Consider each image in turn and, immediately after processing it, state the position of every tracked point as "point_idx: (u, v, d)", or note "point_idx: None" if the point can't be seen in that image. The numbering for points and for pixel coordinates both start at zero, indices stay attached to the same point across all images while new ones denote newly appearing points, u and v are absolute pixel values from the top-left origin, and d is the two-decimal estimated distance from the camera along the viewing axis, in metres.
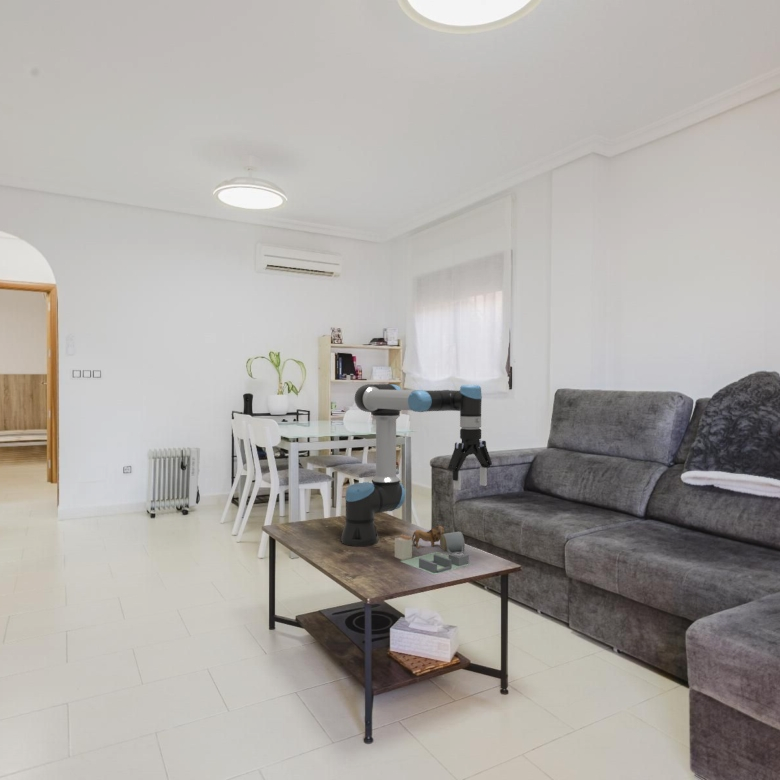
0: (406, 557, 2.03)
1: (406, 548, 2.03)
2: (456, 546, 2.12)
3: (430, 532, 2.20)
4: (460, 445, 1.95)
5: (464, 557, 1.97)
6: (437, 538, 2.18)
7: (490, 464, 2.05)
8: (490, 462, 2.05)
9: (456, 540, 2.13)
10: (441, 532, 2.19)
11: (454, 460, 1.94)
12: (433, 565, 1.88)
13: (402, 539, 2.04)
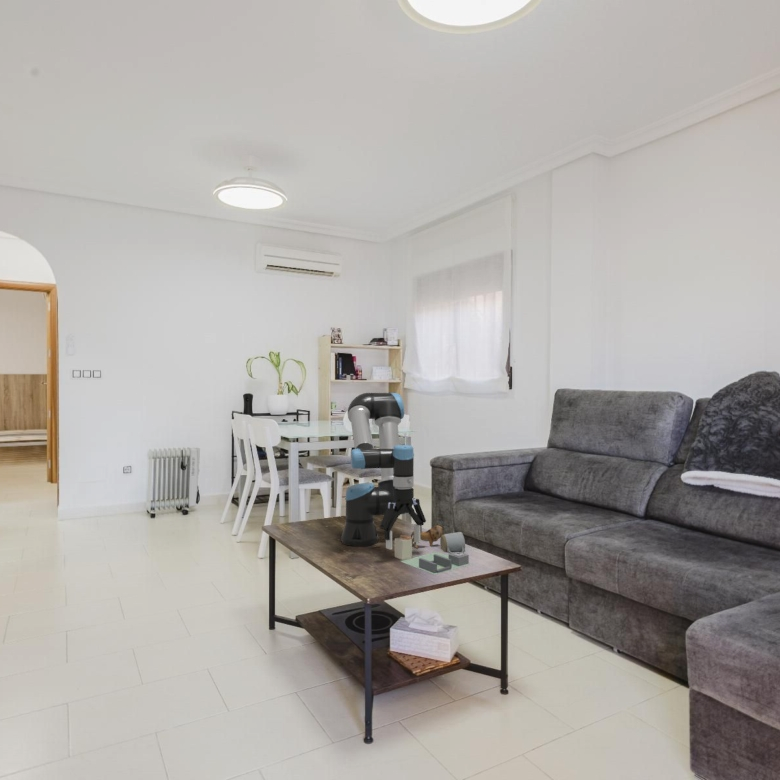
0: (406, 557, 2.03)
1: (406, 548, 2.03)
2: (457, 546, 2.12)
3: (428, 532, 2.20)
4: (391, 505, 2.00)
5: (464, 557, 1.97)
6: (435, 538, 2.19)
7: (424, 521, 2.10)
8: (424, 519, 2.10)
9: (457, 540, 2.12)
10: (439, 532, 2.19)
11: (385, 520, 1.99)
12: (433, 565, 1.88)
13: (402, 539, 2.04)
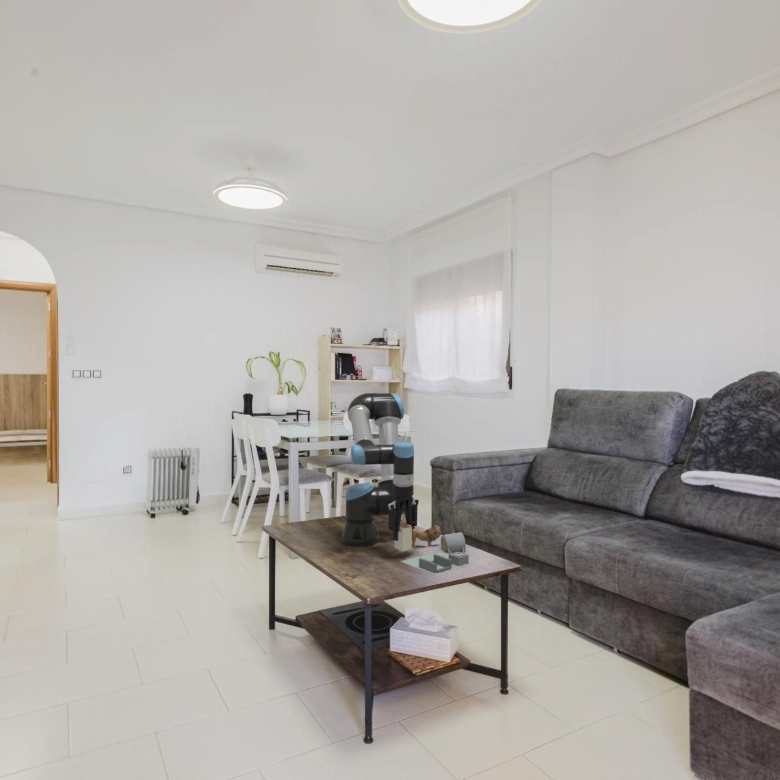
0: (406, 545, 2.04)
1: (406, 536, 2.04)
2: (457, 547, 2.11)
3: (427, 532, 2.20)
4: (392, 507, 2.01)
5: (464, 557, 1.97)
6: (434, 538, 2.19)
7: (415, 525, 2.08)
8: (416, 523, 2.08)
9: (457, 541, 2.11)
10: (438, 532, 2.19)
11: (391, 522, 2.01)
12: (433, 565, 1.88)
13: (402, 527, 2.05)
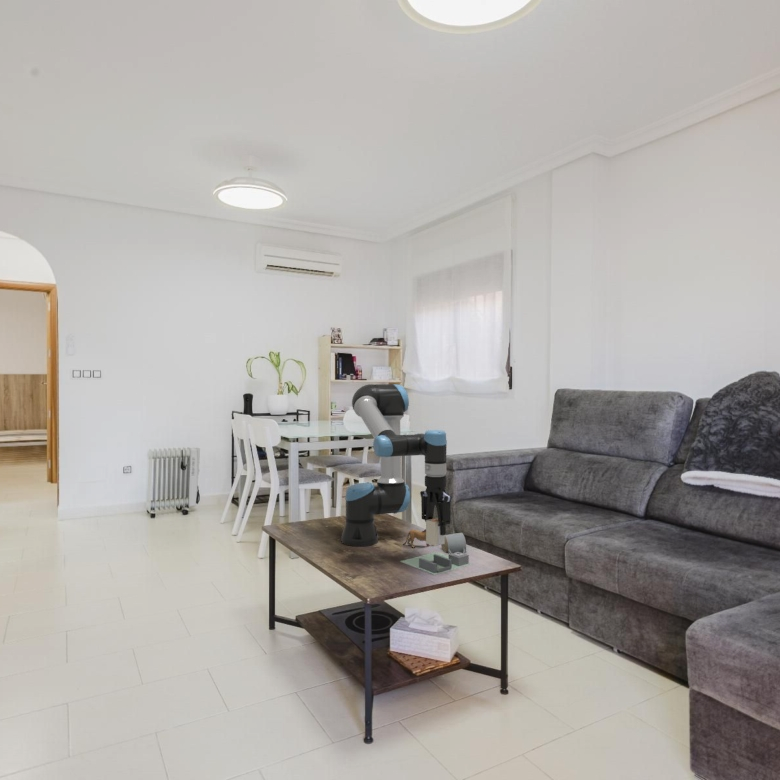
0: (429, 539, 1.92)
1: (429, 529, 1.92)
2: (458, 547, 2.11)
3: (425, 531, 2.20)
4: (421, 493, 1.97)
5: (464, 557, 1.97)
6: None
7: (443, 523, 1.88)
8: (444, 522, 1.88)
9: (458, 541, 2.11)
10: None
11: None
12: (433, 565, 1.88)
13: None
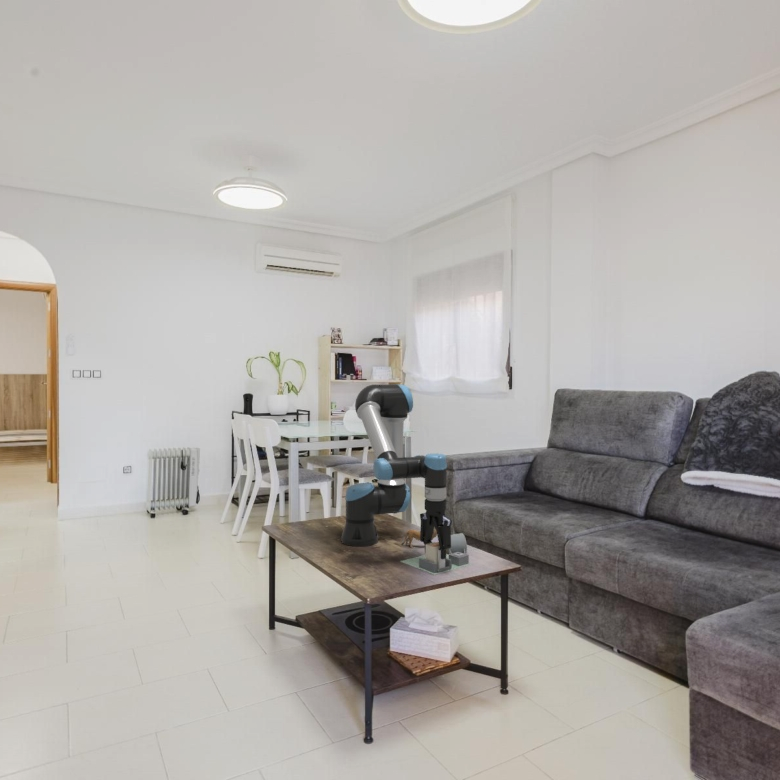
0: None
1: (429, 554, 1.92)
2: (458, 548, 2.10)
3: None
4: (420, 516, 1.97)
5: (464, 557, 1.97)
6: None
7: (444, 548, 1.88)
8: (444, 546, 1.88)
9: (458, 542, 2.10)
10: (434, 531, 2.20)
11: None
12: (433, 565, 1.88)
13: (432, 544, 1.94)
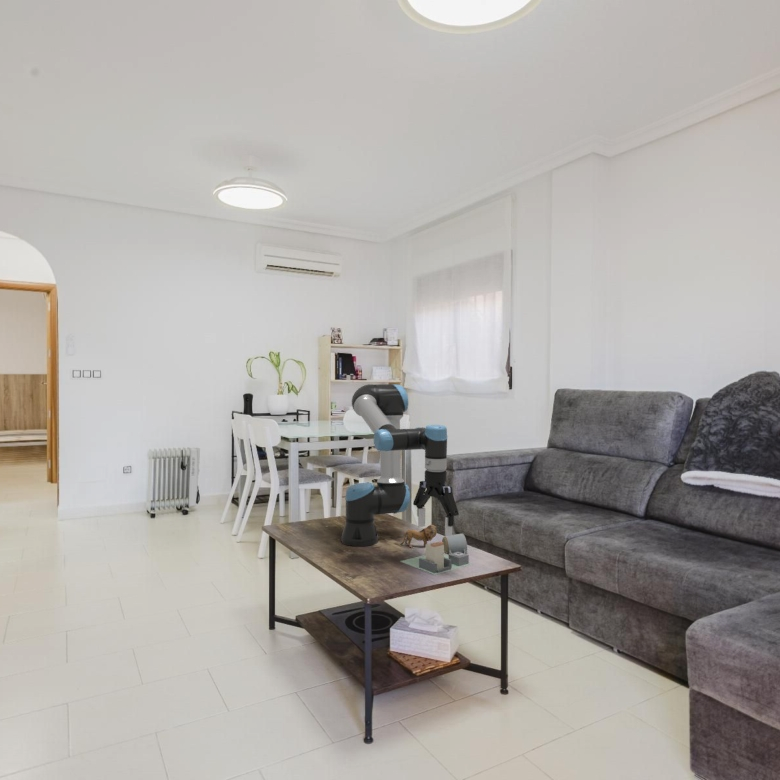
0: None
1: (429, 554, 1.92)
2: (458, 548, 2.09)
3: (423, 531, 2.21)
4: (420, 483, 1.98)
5: (464, 557, 1.97)
6: (430, 537, 2.20)
7: (452, 515, 1.86)
8: (452, 513, 1.86)
9: (458, 542, 2.10)
10: (434, 531, 2.20)
11: None
12: (433, 565, 1.88)
13: (432, 544, 1.94)
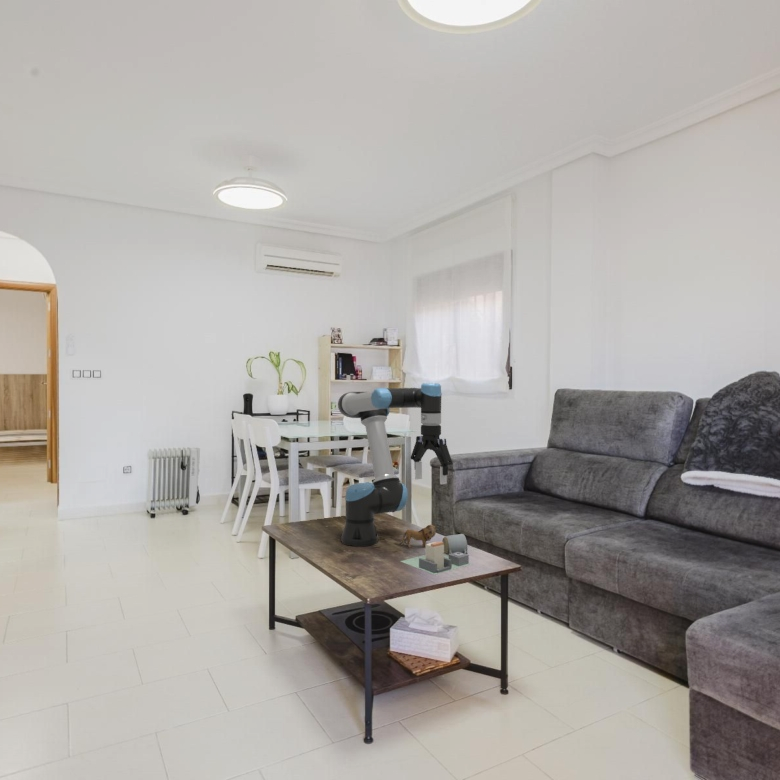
0: None
1: (429, 554, 1.92)
2: (459, 549, 2.09)
3: (421, 531, 2.21)
4: (416, 438, 2.12)
5: (464, 557, 1.97)
6: (429, 537, 2.20)
7: (446, 464, 2.00)
8: (446, 462, 2.00)
9: (459, 542, 2.09)
10: (432, 531, 2.20)
11: None
12: (433, 565, 1.88)
13: (432, 544, 1.94)
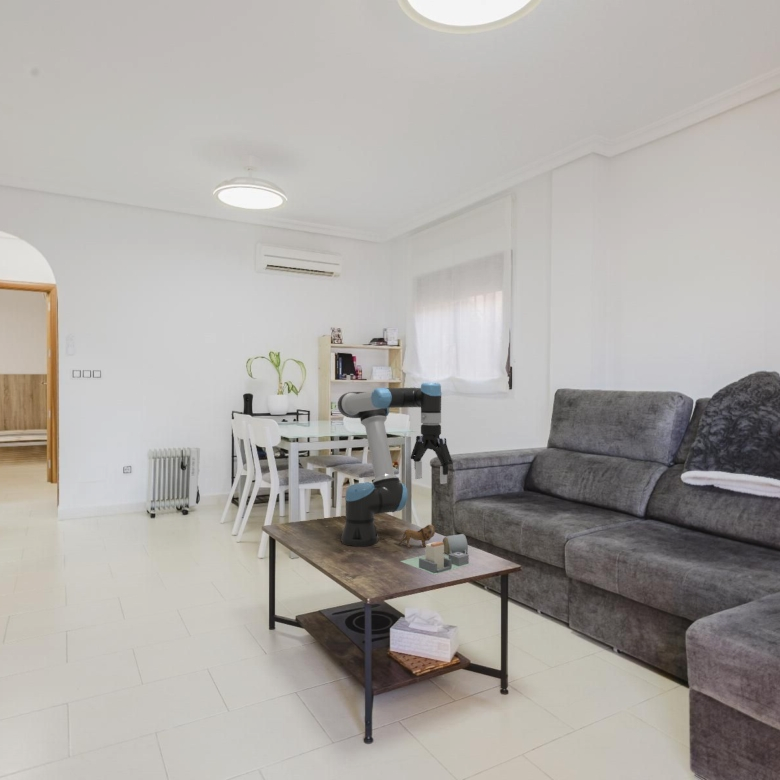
0: None
1: (429, 554, 1.92)
2: (459, 549, 2.09)
3: (421, 531, 2.21)
4: (416, 438, 2.12)
5: (464, 557, 1.97)
6: (428, 537, 2.20)
7: (446, 464, 2.00)
8: (446, 462, 2.00)
9: (459, 543, 2.09)
10: (432, 531, 2.20)
11: None
12: (433, 565, 1.88)
13: (432, 544, 1.94)
